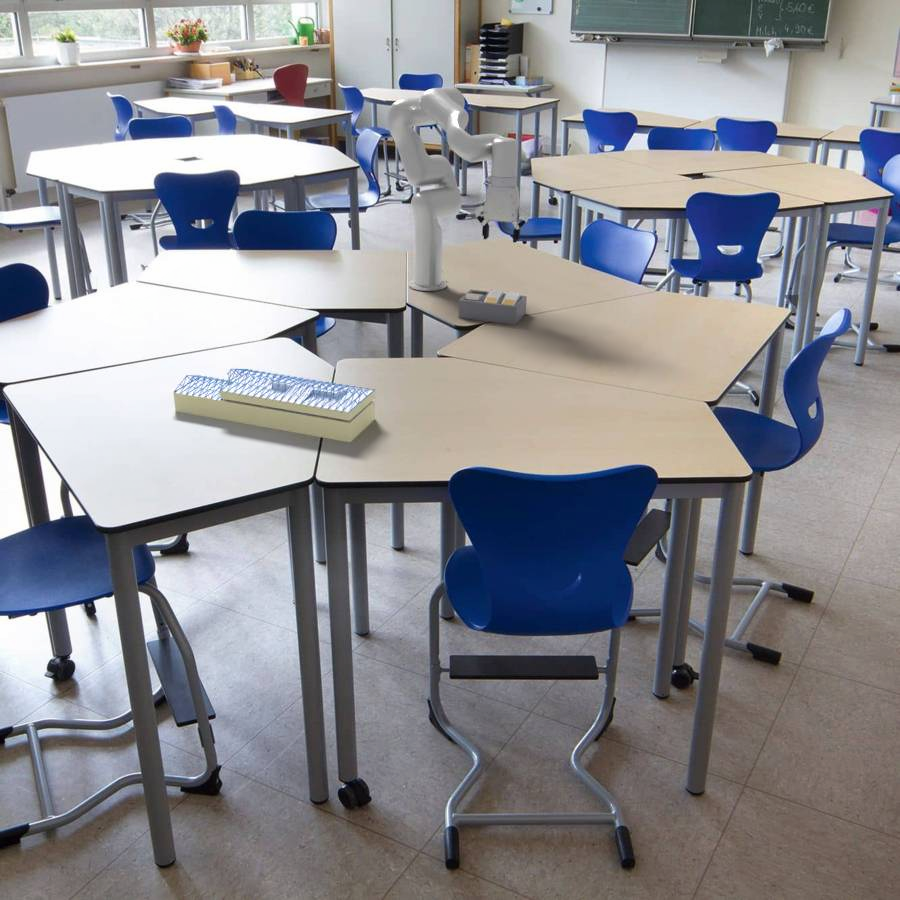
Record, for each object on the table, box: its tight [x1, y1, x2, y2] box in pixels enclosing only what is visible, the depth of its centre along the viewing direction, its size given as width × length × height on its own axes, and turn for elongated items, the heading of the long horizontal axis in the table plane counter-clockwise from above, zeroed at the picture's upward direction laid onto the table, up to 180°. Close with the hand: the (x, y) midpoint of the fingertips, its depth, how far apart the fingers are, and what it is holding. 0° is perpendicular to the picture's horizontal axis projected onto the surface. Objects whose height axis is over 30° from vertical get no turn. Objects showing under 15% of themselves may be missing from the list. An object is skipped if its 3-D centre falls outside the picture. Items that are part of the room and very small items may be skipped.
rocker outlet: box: [501, 291, 521, 305], centre depth 297 cm, size 8×4×2 cm, turn 161°
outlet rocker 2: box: [484, 289, 504, 303], centre depth 298 cm, size 8×4×2 cm, turn 161°
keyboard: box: [173, 368, 376, 443], centre depth 227 cm, size 45×15×10 cm, turn 71°
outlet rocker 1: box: [465, 292, 485, 301], centre depth 300 cm, size 8×4×2 cm, turn 162°
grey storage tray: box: [458, 289, 528, 326], centre depth 300 cm, size 12×18×6 cm, turn 72°
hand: (500, 239), depth 296 cm, fingers open, 8 cm apart
